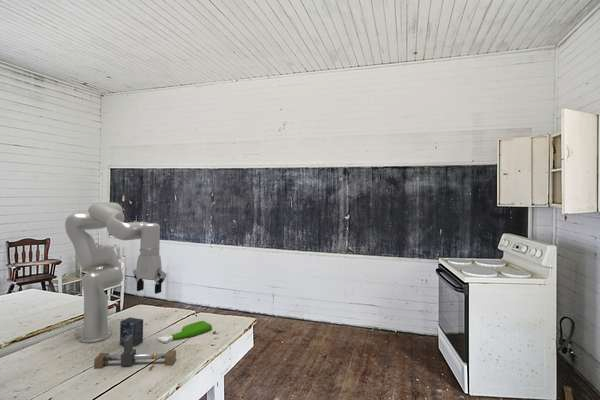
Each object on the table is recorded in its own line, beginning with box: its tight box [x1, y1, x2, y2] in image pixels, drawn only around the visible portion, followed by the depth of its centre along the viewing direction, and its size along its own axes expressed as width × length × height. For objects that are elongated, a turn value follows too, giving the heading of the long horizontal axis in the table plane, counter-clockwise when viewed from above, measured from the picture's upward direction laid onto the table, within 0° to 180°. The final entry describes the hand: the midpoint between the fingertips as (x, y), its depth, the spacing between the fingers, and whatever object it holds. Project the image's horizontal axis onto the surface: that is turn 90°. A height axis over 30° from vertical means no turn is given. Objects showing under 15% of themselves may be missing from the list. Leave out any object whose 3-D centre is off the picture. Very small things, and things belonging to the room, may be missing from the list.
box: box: [119, 317, 144, 348], centre depth 146 cm, size 8×6×11 cm
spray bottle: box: [156, 320, 213, 344], centre depth 156 cm, size 3×11×24 cm
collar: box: [120, 334, 137, 367], centre depth 127 cm, size 4×6×10 cm, turn 7°
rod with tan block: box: [93, 349, 177, 372], centre depth 128 cm, size 29×12×4 cm, turn 97°
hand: (149, 291), depth 139 cm, fingers open, 9 cm apart
